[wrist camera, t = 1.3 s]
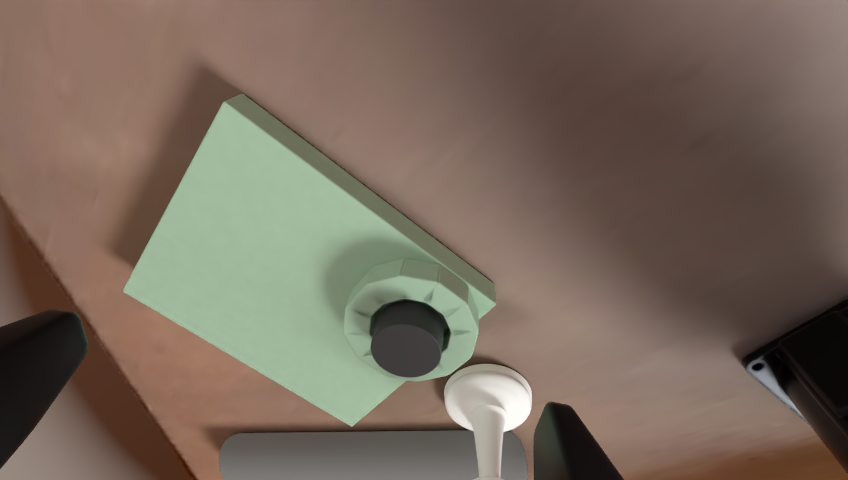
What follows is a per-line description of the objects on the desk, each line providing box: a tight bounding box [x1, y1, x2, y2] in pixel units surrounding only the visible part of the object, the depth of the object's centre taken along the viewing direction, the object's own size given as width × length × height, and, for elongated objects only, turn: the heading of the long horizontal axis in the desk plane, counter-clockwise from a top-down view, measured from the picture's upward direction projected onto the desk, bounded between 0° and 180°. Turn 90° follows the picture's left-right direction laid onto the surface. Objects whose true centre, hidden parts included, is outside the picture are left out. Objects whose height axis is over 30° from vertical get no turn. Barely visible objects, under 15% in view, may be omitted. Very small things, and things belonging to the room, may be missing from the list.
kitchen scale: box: [123, 94, 496, 427], centre depth 21 cm, size 14×12×3 cm
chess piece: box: [444, 364, 532, 480], centre depth 21 cm, size 5×5×10 cm
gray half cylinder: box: [219, 430, 528, 480], centre depth 28 cm, size 4×20×2 cm, turn 99°
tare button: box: [371, 301, 444, 378], centre depth 19 cm, size 3×3×2 cm
